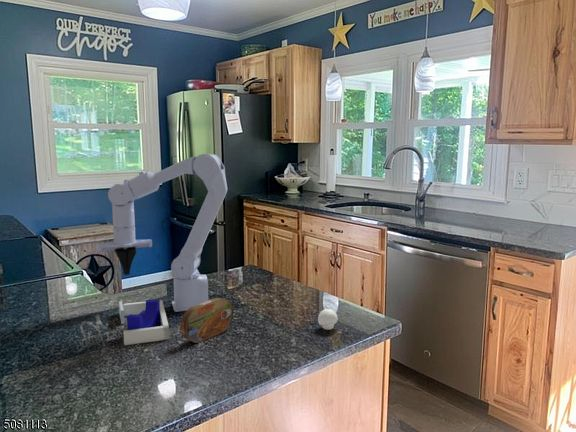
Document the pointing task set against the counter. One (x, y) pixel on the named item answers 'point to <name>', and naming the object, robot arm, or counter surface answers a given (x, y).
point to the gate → (121, 311)
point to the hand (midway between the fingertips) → (126, 273)
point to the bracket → (145, 333)
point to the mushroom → (327, 319)
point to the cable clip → (145, 316)
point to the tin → (206, 319)
